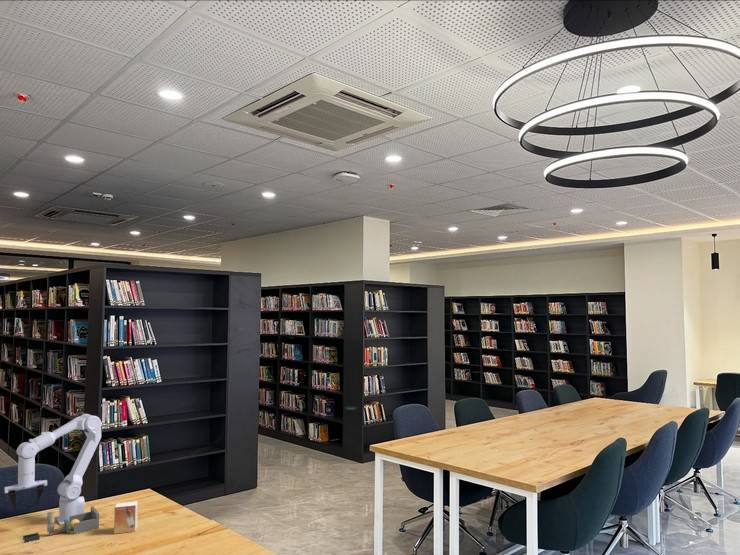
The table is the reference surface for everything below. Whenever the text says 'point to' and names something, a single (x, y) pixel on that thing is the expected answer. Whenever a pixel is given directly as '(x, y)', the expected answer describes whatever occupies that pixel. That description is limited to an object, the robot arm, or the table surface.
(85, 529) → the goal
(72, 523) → the ball
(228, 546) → the table surface
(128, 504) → the small box
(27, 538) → the track
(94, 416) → the robot arm
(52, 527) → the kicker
